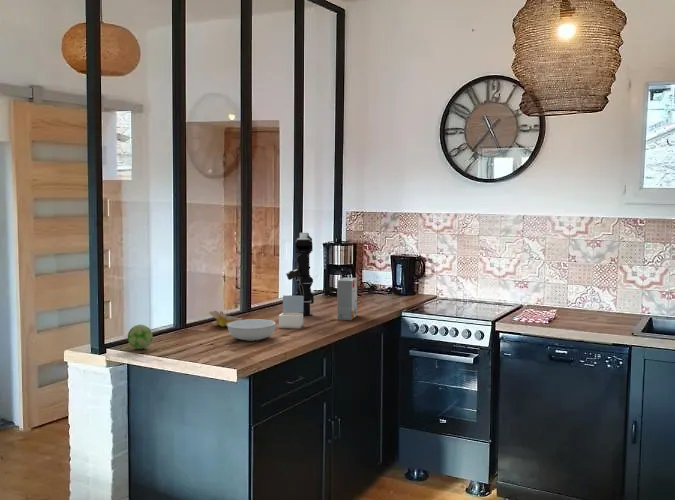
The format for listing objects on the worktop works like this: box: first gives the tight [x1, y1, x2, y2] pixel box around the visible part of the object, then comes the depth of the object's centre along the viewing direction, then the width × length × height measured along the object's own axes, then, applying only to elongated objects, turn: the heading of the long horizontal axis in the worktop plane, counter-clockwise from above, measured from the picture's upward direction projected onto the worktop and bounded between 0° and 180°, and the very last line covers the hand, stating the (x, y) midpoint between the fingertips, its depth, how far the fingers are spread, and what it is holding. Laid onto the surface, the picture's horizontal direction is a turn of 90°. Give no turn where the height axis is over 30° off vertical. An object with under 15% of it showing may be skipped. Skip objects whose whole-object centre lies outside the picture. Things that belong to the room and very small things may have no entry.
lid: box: [282, 294, 304, 313], centre depth 330 cm, size 8×10×1 cm
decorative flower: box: [208, 310, 243, 328], centre depth 327 cm, size 15×11×10 cm
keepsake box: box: [278, 312, 304, 329], centre depth 325 cm, size 8×10×6 cm
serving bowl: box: [226, 318, 277, 342], centre depth 298 cm, size 21×21×7 cm
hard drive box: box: [336, 277, 358, 321], centre depth 349 cm, size 16×8×20 cm, turn 168°
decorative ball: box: [127, 324, 153, 350], centre depth 278 cm, size 10×10×10 cm
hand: (303, 296), depth 335 cm, fingers open, 9 cm apart
